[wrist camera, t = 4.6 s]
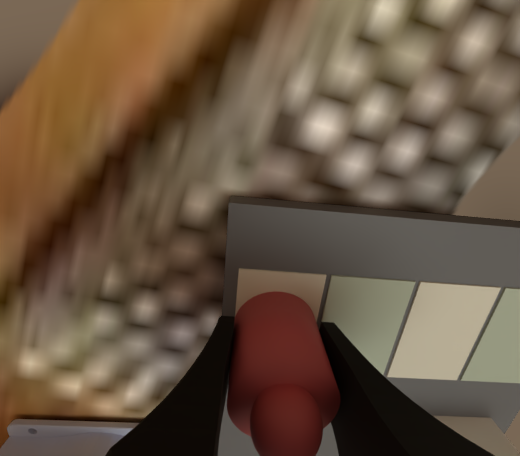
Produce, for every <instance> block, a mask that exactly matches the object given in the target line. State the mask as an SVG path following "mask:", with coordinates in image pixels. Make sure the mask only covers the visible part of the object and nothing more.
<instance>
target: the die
mask: <svg viewBox="0 0 520 456" xmlns="http://www.w3.org/2000/svg"><path fill="white" fill-rule="evenodd" d="M434 417H435V418H436V419H438V420H439V421H441V422H442V423H444V424H445V425H447V426H448V427H450V428H451V429H453V430H454V431H456V432H457V433H459V434H460V435H462V436H463V437H465V438H466V439H468V440H470V441H471V442H473V443H475V444H476V445H478V446H480V447H481V448H483V449H485V450H486V451H488V452H490V453H491V454H493V455H495V456H520V453H519V452H518V450H517V449H516V448H515V447H514V445H513V444H512V443H511V442H510V441H509V439H508V438H507V437H506V436H505V434H504V433H503V432H502V431H501V430H500V428H499V427H498V426H497V425H496V424H495V422H494V421H493V420H492V419H491V418H484V417H457V416H434Z"/></svg>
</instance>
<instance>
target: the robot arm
mask: <svg viewBox="0 0 520 456" xmlns="http://www.w3.org/2000/svg"><path fill="white" fill-rule="evenodd" d="M234 321H235V317H233V316H221V317H219V319H218V322H217V325H216V327H215V329H214V331H213V333H212V335H211V337H210V339H209V340H208V342H207V344H206V345H205V347H204V349H203V350H202V352H201V353H200V355H199V356H198V358H197V359H196V361H195V362H194V364H193V365H192V366H191V368H190V369H189V370H188V372H187V373H186V374H185V376H184V377H183V378H182V379H181V380H180V382H179V383H178V384H177V385H176V386H175V387H174V389H173V390H172V391H171V392H170V393H169V394H168V395H167V396H166V398H165V399H164V400H163V401H162V402H161V403H160V404H159V405H158V406H157V407H156V408H155V409H154V410H153V411H152V412H151V413H150V414H148V415H147V416H146V417H145V418H144V419H143V420H142V421H141V422H140V423H126V422H96V421H66V420H36V419H15V420H13V421H12V422H11V423H10V424H9V425H8V427H7V431H8V434H9V438H8V439H7V440H6V441H5V443H4V444H3V445H2V447H1V448H0V456H218V447H219V437H220V430H221V423H222V418H223V412H224V406H225V401H226V395H227V389H228V383H229V372H230V360H231V352H232V345H233V333H234ZM319 332H320V335H321V338H322V341H323V344H324V347H325V350H326V353H327V356H328V359H329V362H330V365H331V368H332V371H333V374H334V377H335V380H336V383H337V386H338V389H339V392H340V406H339V409H338V412H337V414H336V416H335V417H334V419H333V420H332V421H331V425H332V428H333V432H334V436H335V440H336V444H337V449H338V454H339V456H495V455H493V454H491V453H490V452H488V451H486V450H485V449H483V448H481V447H480V446H478V445H476V444H475V443H473V442H471V441H470V440H468V439H466V438H465V437H463V436H462V435H460V434H459V433H457V432H456V431H454V430H453V429H451V428H450V427H448V426H447V425H445V424H444V423H442V422H441V421H439V420H438V419H436V418H435V417H434V416H432V415H431V414H429V413H428V412H427V411H425V410H424V409H423V408H422V407H420V406H419V405H418V404H416V403H415V402H414V401H412V400H411V399H410V398H409V397H407V396H406V395H405V394H404V393H403V392H401V391H400V390H399V389H398V388H397V387H396V386H394V385H393V384H392V383H391V382H390V381H389V380H388V379H387V378H385V377H384V376H383V375H382V374H381V373H380V372H379V371H378V370H377V369H376V368H375V367H374V366H373V365H372V364H371V363H370V362H369V361H368V360H367V359H366V358H365V357H364V356H363V355H362V354H361V352H360V351H359V350H358V349H357V348H356V347H355V346H354V345H353V344H352V343H351V341H350V340H349V339H348V338H347V337H346V336H345V335H344V333H343V332H342V331H341V330H340V329H339V328H338V327H337V325H336V324H335V323H334V322H321V324H320V329H319Z"/></svg>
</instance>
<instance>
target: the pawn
mask: <svg viewBox="0 0 520 456" xmlns="http://www.w3.org/2000/svg"><path fill="white" fill-rule="evenodd" d="M339 406H340V392H339V389H338V386H337V383H336V380H335V377H334V374H333V371H332V368H331V365H330V362H329V359H328V356H327V353H326V350H325V347H324V344H323V341H322V338H321V335H320V332H319V329H318V326H317V323H316V320H315V317H314V314H313V311H312V310H311V308H310V306H309V305H308V304H307V303H306V302H305V301H304V300H302V299H301V298H299V297H297V296H296V295H293V294H290V293H286V292H275V291H274V292H266V293H262V294H259V295H257V296H254V297H252V298H251V299H249V300H248V301H247V302H245V303H244V304H243V305H242V306H241V307H240V309H239V310H238V312H237V314H236V316H235V321H234V333H233V345H232V352H231V360H230V372H229V384H228V395H227V411H228V415H229V417H230V419H231V421H232V422H233V424H234V425H235V426H236V427H237V428H238V429H239V430H240V431H242V432H243V433H245V434H247V435H249V436H251V438H252V441H253V444H254V447H255V449H256V451H257V452H258V454H259V455H260V456H316V454H317V452H318V450H319V448H320V445H321V441H322V436H323V429H324V428H325V427H326V426H327V425H328V424H329V423H330V422H331V421H332V420H333V419H334V417H335V416H336V414H337V412H338V409H339Z"/></svg>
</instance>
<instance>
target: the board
mask: <svg viewBox="0 0 520 456" xmlns="http://www.w3.org/2000/svg"><path fill="white" fill-rule="evenodd" d="M274 291H275V292H286V293H290V294H293V295H296V296H297V297H299V298H301V299H302V300H304V301H305V302H306V303H307V304H308V305H309V306H310V308H311V310H312V311H313V314H314V317H315V320H316V323H317V326H318V329H320V324H321V322H334V323H335V324H336V325H337V327H338V328H339V329H340V330H341V331H342V332H343V333H344V335H345V336H346V337H347V338H348V339H349V340H350V341H351V343H352V344H353V345H354V346H355V347H356V348H357V349H358V350H359V351H360V352H361V354H362V355H363V356H364V357H365V358H366V359H367V360H368V361H369V362H370V363H371V364H372V365H373V366H374V367H375V368H376V369H377V370H378V371H379V372H380V373H381V374H382V375H383V376H384V377H385V378H387V379H388V380H389V381H390V382H391V383H392V384H393V385H394V386H396V387H397V388H398V389H399V390H400V391H401V392H403V393H404V394H405V395H406V396H407V397H409V398H410V399H411V400H412V401H414V402H415V403H416V404H418V405H419V406H420V407H422V408H423V409H424V410H425V411H427V412H428V413H429V414H431V415H432V416H457V417H484V418H491V419H492V420H493V421H494V422H495V424H496V425H497V426H498V427H499V428H500V430H501V431H502V432H503V433H504V434H505V432H506V430H507V429H508V427H509V426H510V424H511V423H512V421H513V419H514V418H515V416H516V415H517V413H518V411H519V410H520V221H512V220H501V219H490V218H478V217H467V216H456V215H445V214H433V213H422V212H411V211H399V210H388V209H377V208H365V207H354V206H343V205H331V204H320V203H309V202H297V201H286V200H275V199H263V198H252V197H241V196H231V197H230V200H229V208H228V225H227V241H226V258H225V275H224V291H223V308H222V316H233V317H235V316H236V314H237V312H238V310H239V309H240V307H241V306H242V305H243V304H244V303H245V302H247V301H248V300H249V299H251V298H252V297H254V296H257V295H259V294H262V293H266V292H274ZM228 384H229V383H228ZM227 395H228V389H227ZM227 395H226V401H225V406H224V412H223V418H222V423H221V430H220V437H219V447H218V456H260V455H259V454H258V452H257V451H256V449H255V447H254V444H253V441H252V438H251V436H249V435H247V434H245V433H243V432H242V431H240V430H239V429H238V428H237V427H236V426H235V425H234V424H233V422H232V421H231V419H230V417H229V415H228V411H227ZM316 456H339V454H338V449H337V444H336V440H335V436H334V432H333V428H332V425H331V422H330V423H329V424H328V425H327V426H326V427H325V428H324V429H323V436H322V441H321V445H320V448H319V450H318V452H317V454H316Z"/></svg>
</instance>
